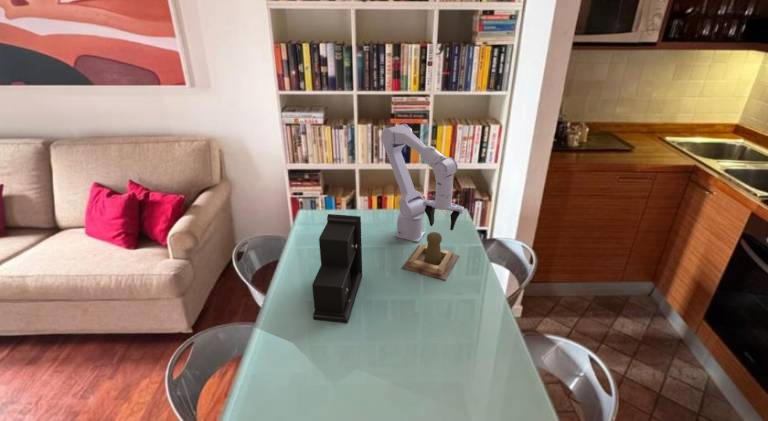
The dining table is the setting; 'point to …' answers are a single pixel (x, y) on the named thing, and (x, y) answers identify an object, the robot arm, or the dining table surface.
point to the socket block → (436, 271)
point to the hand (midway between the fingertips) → (441, 226)
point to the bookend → (338, 268)
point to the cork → (433, 248)
